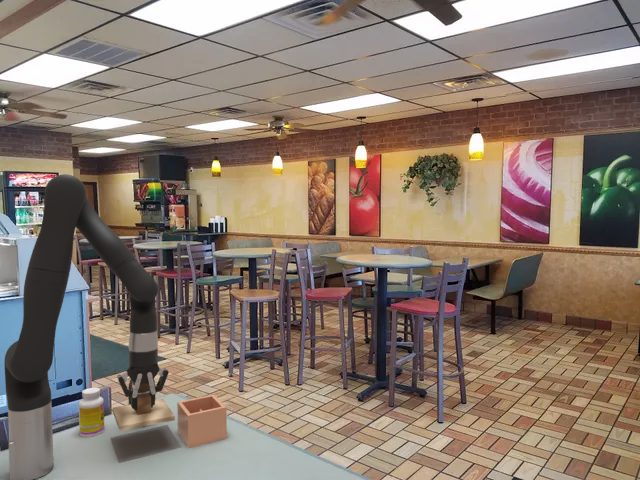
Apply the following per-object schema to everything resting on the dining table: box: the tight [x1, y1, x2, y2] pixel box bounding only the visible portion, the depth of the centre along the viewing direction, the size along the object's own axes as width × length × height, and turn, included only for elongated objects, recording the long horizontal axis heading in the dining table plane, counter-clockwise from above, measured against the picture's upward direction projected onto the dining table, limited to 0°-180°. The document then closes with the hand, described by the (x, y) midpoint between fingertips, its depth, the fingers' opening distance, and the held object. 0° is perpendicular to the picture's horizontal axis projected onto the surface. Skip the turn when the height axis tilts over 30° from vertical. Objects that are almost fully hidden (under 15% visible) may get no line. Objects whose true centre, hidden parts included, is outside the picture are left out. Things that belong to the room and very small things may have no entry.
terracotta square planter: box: [176, 394, 228, 449], centre depth 136 cm, size 11×11×10 cm
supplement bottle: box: [78, 387, 105, 438], centre depth 138 cm, size 7×7×13 cm
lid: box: [112, 393, 176, 432], centre depth 131 cm, size 14×14×6 cm
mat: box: [110, 424, 182, 464], centre depth 132 cm, size 16×16×1 cm
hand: (143, 407), depth 131 cm, fingers closed on lid, 3 cm apart
